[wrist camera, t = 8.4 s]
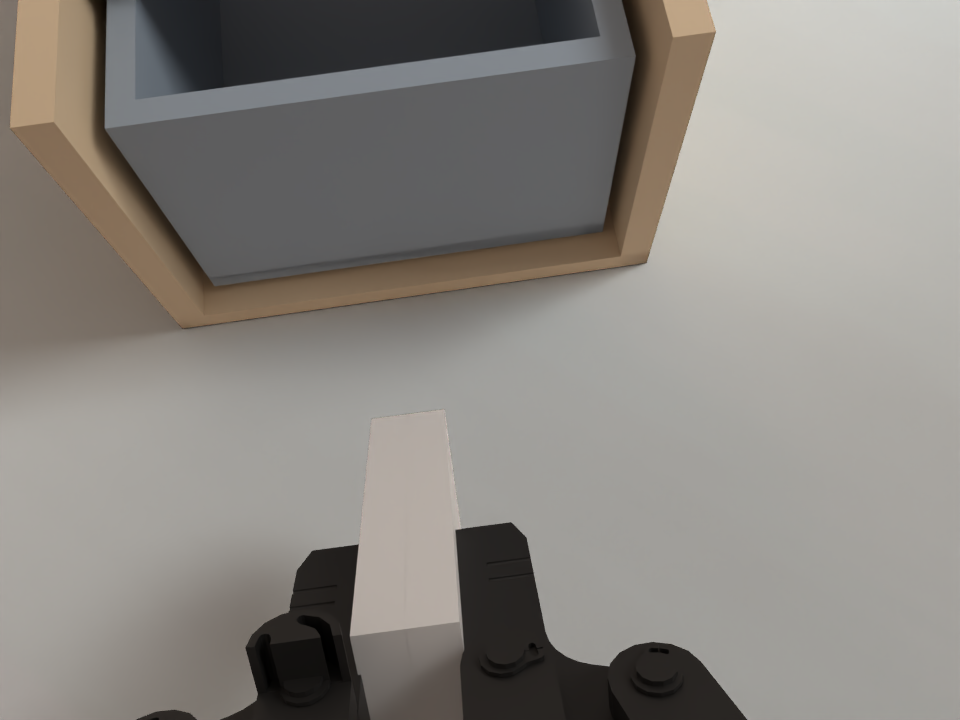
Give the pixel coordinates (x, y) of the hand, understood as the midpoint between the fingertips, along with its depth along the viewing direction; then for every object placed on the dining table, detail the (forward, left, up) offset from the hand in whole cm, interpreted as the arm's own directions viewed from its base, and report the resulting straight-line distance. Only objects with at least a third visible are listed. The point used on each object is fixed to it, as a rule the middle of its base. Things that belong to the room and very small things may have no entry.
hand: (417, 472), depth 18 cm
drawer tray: (0, -18, -4) cm, 18 cm away
